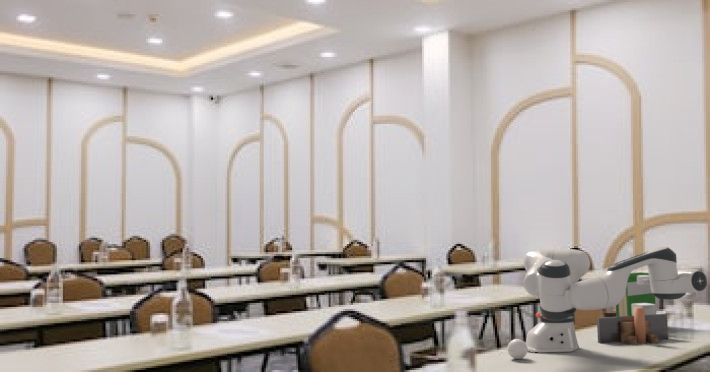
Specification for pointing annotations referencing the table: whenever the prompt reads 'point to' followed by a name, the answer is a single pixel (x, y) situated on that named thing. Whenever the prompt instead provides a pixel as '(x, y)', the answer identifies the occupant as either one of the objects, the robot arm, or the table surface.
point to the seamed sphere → (517, 349)
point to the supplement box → (645, 308)
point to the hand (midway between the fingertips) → (653, 278)
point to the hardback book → (634, 295)
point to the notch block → (629, 333)
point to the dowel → (640, 324)
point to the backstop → (611, 325)
